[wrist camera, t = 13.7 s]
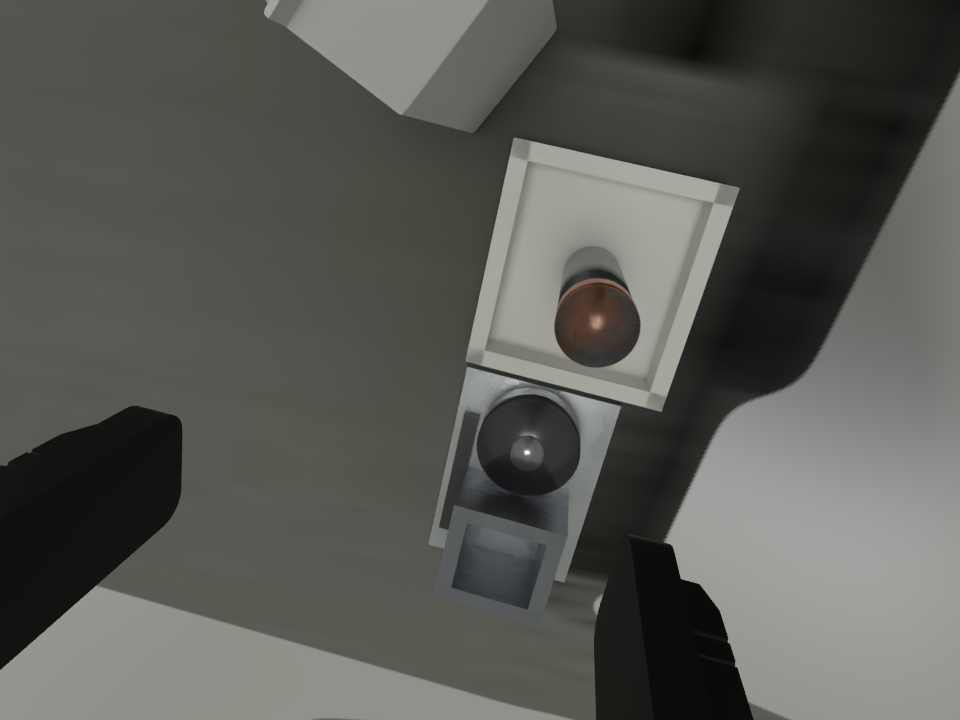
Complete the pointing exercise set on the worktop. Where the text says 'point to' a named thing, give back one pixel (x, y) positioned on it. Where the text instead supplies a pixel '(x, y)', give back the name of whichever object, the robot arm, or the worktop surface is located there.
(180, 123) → the worktop surface
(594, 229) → the tray
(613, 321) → the lock pin
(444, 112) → the milk carton
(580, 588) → the worktop surface
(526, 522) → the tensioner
